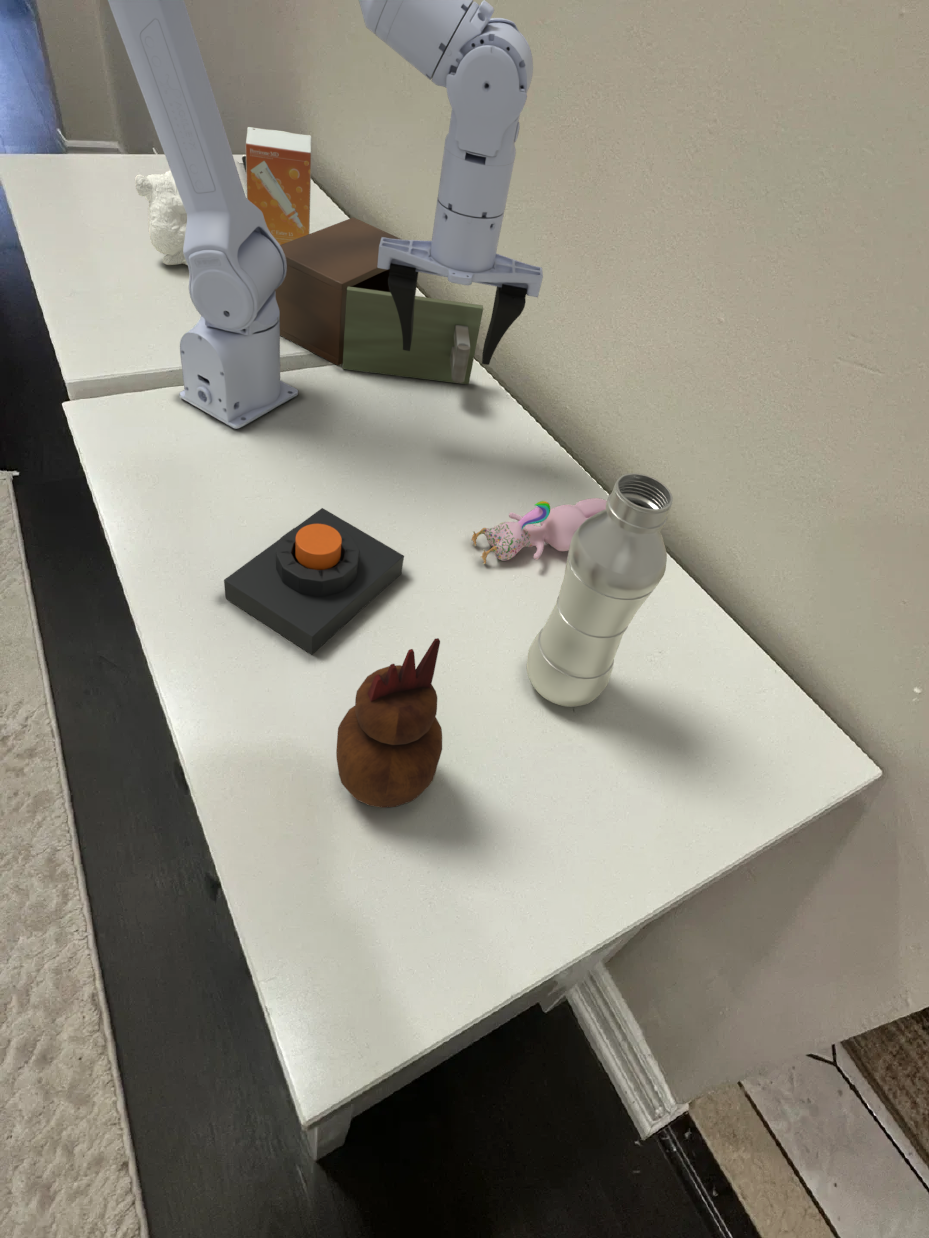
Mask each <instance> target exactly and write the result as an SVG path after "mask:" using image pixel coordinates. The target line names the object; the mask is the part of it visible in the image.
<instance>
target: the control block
mask: <svg viewBox="0 0 929 1238" xmlns="http://www.w3.org/2000/svg"><path fill="white" fill-rule="evenodd" d="M310 524H324V525H328V526H331V527H333V528H334V529H336V530H337V531H338V532H339V534H340V536H341V539H342V544H341V557H340V560H339V562H338V563H337V564H336V565H335V566H333V567H331V568H329V569H325V570H314V569H309V568H307V567H305V566H303V565H301V564H300V563H299V561H298V560H297V558H296V555H295V548H296V534H297V533H298V531H299V530H300V529H301V528H303V527H305V526H307V525H310ZM404 559H405V555H403V554H402V553H401V552H399V551H397V550H395V549H393V548H392V547H390V546H388V545H387V544H385V543H383V542H381V540H378V539H377V538H375V537H373V536H372V535H369V534H368V533H366V532H365V531H363V530H361V529H359V528H358V527H356V526H354V525H353V524H350V523H349V522H347V521H346V520H344V519H342V518H340V517H339V516H337V515H336V514H333V513H332V512H330V511H328V510H327V509H325V508H323V507H321V508H320V509H319V510H317V511H316V512H314V513H313V514H312V515H310V516H309V517H308V518H306V519H305V520H303V521H302V522H300V523H299V524H298V525H297V526H295V527H293V528H292V529H290V530H289V531H288V532H286V533H285V534H283V536H281V537H280V538H279V539H278V540H277V541H275V542H273V543H272V544H271V545H269V546H268V547H266V548H265V549H264V550H263V551H261V552H260V553H258V554H257V555H255V556H254V557H253V558H251V559H250V560H249V561H247V562H246V563H245V564H244V565H242V566H241V567H239V568H238V569H236V570H235V571H234V572H233V573H231V574H229V576H227V577H226V578H224V579H223V585H224V586H223V587H224V596H225V599H226V600H227V601H229V602H230V603H231V604H233V605H235V606H236V607H238V608H239V609H241V610H242V611H244V612H245V613H247V614H248V615H250V616H252V617H253V618H255V619H256V620H258V621H259V622H261V623H262V624H264V625H265V626H266V627H268V628H270V629H272V630H273V631H275V632H276V633H277V634H279V635H280V636H282V637H284V638H285V639H287V640H288V641H290V642H291V643H293V644H294V645H296V646H298V647H299V648H301V649H302V650H303V651H305V652H307V653H308V654H310V655H313V654H315V653H316V652H317V651H318V650H319V649H320V648H321V647H322V646H323V645H324V644H325V643H327V641H329V640H330V639H331V638H332V637H333V636H334V635H335V634H337V633H338V632H339V631H340V630H341V629H342V628H344V626H345V625H347V623H349V622H350V621H351V620H352V619H353V618H354V617H355V616H356V615H357V614H359V613H360V612H361V611H362V610H363V609H364V608H366V606H367V605H368V604H370V602H372V601H373V600H374V599H375V598H376V597H378V595H380V594H381V593H382V592H383V591H384V590H385V589H386V588H387V587H388V586H389V585H391V584H392V583H393V582H394V581H395V580H396V579H398V577H399V576H401V574H402V571H403V566H404Z"/></svg>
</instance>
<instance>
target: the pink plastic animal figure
mask: <svg viewBox="0 0 929 1238" xmlns="http://www.w3.org/2000/svg"><path fill="white" fill-rule="evenodd" d="M606 502H607V500H606V499H603V498H600V497H594V498H593V497H592V498H586V499H582V500H579V501H577V502H576V503H575V504H574V505H573V504H562V505H558V506H554V507H552V508H551V504H550V503H549V502H548V501H545V500H541V501H538V502H536V503H535V504H534V507H535V506H536V507H535V508H533V509H531V510H530V511H529V512H527V513H526V514H524V516H522V515H520V514H517V513H515V512H509V513H508V517H509V518H510V519H513V520H516V522H515V521H503V522H500V523H499V524H497V525H495V526H493V527H490V528H487V527H482V528H481V530H479V531H478V532H476V531H472V532H473V534H472V535H471V541H472V542H473V543H472V546H474V547H476V546H477V540H478V537H479V536H480V535H484V536H485V538H486V541H487V544H488V545H490V546H491V548H490V549H488V550H486V549H482V553H481V556H480V558H481V559H482V561H483V562H482V565H486V564H487V557H488V555H489V554H490V553H492V552H493V553H494V556H495V558H496V559H498V560H500V561H502V562H503V561H505V562H507V561H509V560H511V559H513V558H514V557H516V555H517V554H519V552H520V551H521V550H522V549H523V548H525V547H526V548H532V547H536V552H535V553H533V555H532V557H533V559H534V560H540V558H541V556H542V554H543V552H544V547H545V544H548V545H549V546H550V547H551V548H553V549H555V550H557V551H558V552H569V547H570V543H571V540H572V537H573V535H574V533H575V531H576V530H577V529H578V528H579V527H580V526H581V525H582V523H583V522H584V521H585V520H587V519H588V518H590V517H592V516H593V515H595V514H597V513H598V512H600V511H603V510H605V509H606ZM535 524H540V526H538V525H535Z"/></svg>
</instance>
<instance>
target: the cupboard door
mask: <svg viewBox="0 0 929 1238" xmlns="http://www.w3.org/2000/svg"><path fill="white" fill-rule="evenodd" d="M483 313H484V305H482V304H478V303H477V304H475V303H470V302H469V303H468V302H461V301H456V300H448V299H439V298H433V297H425V296H420V295H415V302H414V320H413V334H412V342H411V348H410V351H406V350H403V337H402V329H401V323H400V319H399V315H398V311H397V308H396V305H395V302H394V300H393V297H392V295H391V292H384V291H377V290H370V289H363V288H356V287H349V286H348V287H347V297H346V315H345V334H344V352H343V363H342V370H349V371H357V372H364V373H372V374H373V373H374V374H381V375H388V376H389V375H390V376H397V377H405V378H412V379H413V378H414V379H421V380H428V381H439V382H446V383H454V384H462V385H470V379H471V374H472V370H473V364H474V359H475V356H476V355H475V354H476V350H477V343H478V339H479V334H480V329H481V323H482V318H483Z"/></svg>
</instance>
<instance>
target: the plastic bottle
mask: <svg viewBox="0 0 929 1238" xmlns="http://www.w3.org/2000/svg"><path fill="white" fill-rule="evenodd" d="M606 499H607V500H606V501H607V502H606V509H605V510H603V511H600V512H598V513H597V514H595V515H593V516H592V517H590V518H588V519H587V520H585V521H584V522H583V523H582V525H581V526H580V527H579V528H578V529H577V530H576V531H575V533H574V535H573V537H572V540H571V543H570V547H569V550H568V551H567V552H568V553H567V557H566V563H565V570H564V574H563V579H562V582H561V585H560V589H559V592H558V596H557V599H556V602H555V605H554V607H553V608H552V610H551V612H550V614H549V616H548V618H547V620H546V621H545V624H544V625H543V627H542V628H541V629H540V631H539V632H538V633H537V634H536V636H535V637H534V639H533V641H532V642H531V644H530V646H529V648H528V652H527V659H526V674H527V677H528V679H529V681H530V683H531V685H532V686H533V688H534V689H535V690H536V692H537V693H538V694H539V695H540V696H541V697H543V699H544V700H547V701H548V702H549V703H552V704H554V705H558V706H561V707H566V708H567V707H568V708H569V707H572V708H573V707H582V706H585V705H588V704H590V703H592V702H593V701H594V700H596V699H597V698H598V697H600V695H601V694H602V693H603V691H604V690H605V689H606V688H607V686H608V685H609V682H610V680H611V676H612V672H613V669H614V663H615V657H616V655H617V653H618V650H619V647H620V644H621V641H622V639H623V636H624V634H625V633H626V631H627V629H628V628H629V626H630V624H631V622H632V621H633V619H634V617H636V614H637V613H638V611H639V610H640V608H641V607H642V606H643V604H644V603H646V601H647V600H648V598H649V596H650V595H651V594H652V593H653V592H654V590H655V589H656V588H657V587H658V586H659V584H660V582H661V581H662V579H663V577H664V576H665V573H666V569H667V560H668V558H667V557H668V553H667V549H666V546H665V542H664V541H665V540H664V538H663V535H662V532H661V530H663V528H664V527H665V526H666V523H667V520H668V514H669V512H670V510H671V507H672V505H673V499H674V498H673V493H672V492H671V491H670V489H669V488H668V487H667V486H666V485H665V484H664V483H663V482H661V481H660V480H659V479H657V478H654V477H652V476H650V475H648V474H643V473H639V472H638V473H637V472H628V473H624V474H621V476H619V477H618V478H617V480H616V481H615V483H614V485H613V488H612V491H611V493H610V494H609V495H608V497H607V498H606Z"/></svg>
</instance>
